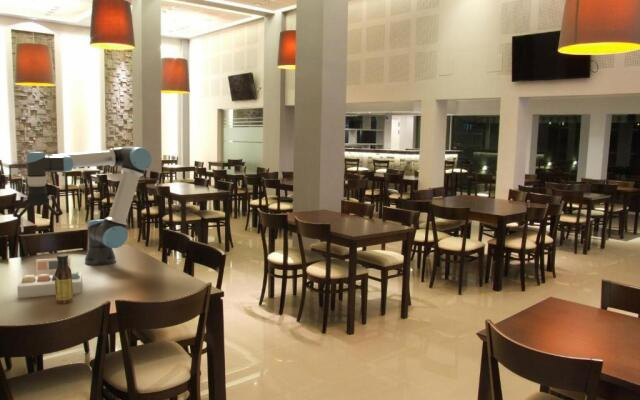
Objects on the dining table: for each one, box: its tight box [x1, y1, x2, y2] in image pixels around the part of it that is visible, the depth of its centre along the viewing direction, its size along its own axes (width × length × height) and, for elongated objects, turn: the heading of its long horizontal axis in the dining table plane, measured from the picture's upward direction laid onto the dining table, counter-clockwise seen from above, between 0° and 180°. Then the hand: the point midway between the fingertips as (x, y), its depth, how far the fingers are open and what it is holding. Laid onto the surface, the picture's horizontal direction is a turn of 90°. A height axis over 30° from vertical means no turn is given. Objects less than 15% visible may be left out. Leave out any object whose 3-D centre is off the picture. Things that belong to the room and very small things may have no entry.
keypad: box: [16, 271, 83, 299], centre depth 229 cm, size 24×16×5 cm, turn 113°
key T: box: [21, 274, 36, 283], centre depth 225 cm, size 4×4×4 cm
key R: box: [71, 271, 80, 279], centre depth 232 cm, size 4×4×4 cm
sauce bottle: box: [55, 253, 74, 305], centre depth 213 cm, size 7×6×20 cm
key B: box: [38, 274, 50, 282], centre depth 227 cm, size 4×4×4 cm
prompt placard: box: [35, 257, 71, 276], centre depth 240 cm, size 14×1×11 cm, turn 113°
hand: (39, 230), depth 243 cm, fingers open, 13 cm apart
